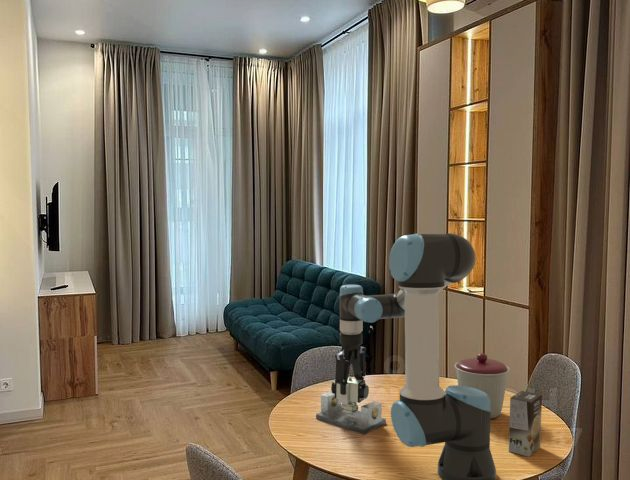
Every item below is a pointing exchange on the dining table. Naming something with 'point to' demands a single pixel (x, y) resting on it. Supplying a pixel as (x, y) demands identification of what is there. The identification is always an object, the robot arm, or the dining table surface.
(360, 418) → the fittings plate
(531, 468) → the dining table surface
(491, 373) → the canister
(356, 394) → the pneumatic valve
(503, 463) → the dining table surface
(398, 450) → the dining table surface
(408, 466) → the dining table surface
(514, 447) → the coffee box
